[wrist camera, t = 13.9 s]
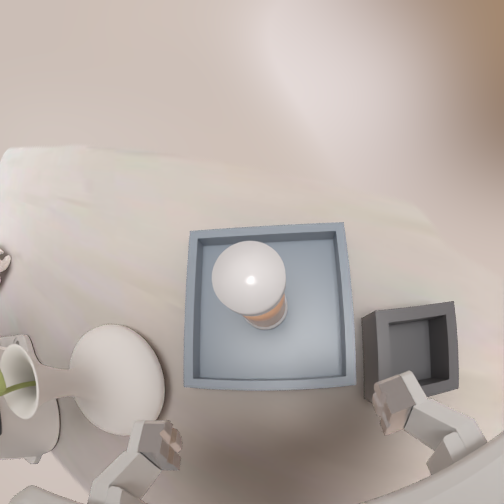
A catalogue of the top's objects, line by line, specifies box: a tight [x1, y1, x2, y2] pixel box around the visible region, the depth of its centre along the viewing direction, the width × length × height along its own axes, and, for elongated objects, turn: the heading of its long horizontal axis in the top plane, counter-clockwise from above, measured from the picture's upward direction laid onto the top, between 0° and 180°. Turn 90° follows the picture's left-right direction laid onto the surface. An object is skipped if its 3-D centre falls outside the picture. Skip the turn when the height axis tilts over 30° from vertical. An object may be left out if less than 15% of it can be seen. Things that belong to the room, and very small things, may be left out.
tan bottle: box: [212, 241, 288, 330], centre depth 20 cm, size 4×4×11 cm
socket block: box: [361, 301, 459, 403], centre depth 20 cm, size 7×7×4 cm
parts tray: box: [184, 222, 356, 390], centre depth 24 cm, size 14×14×2 cm
